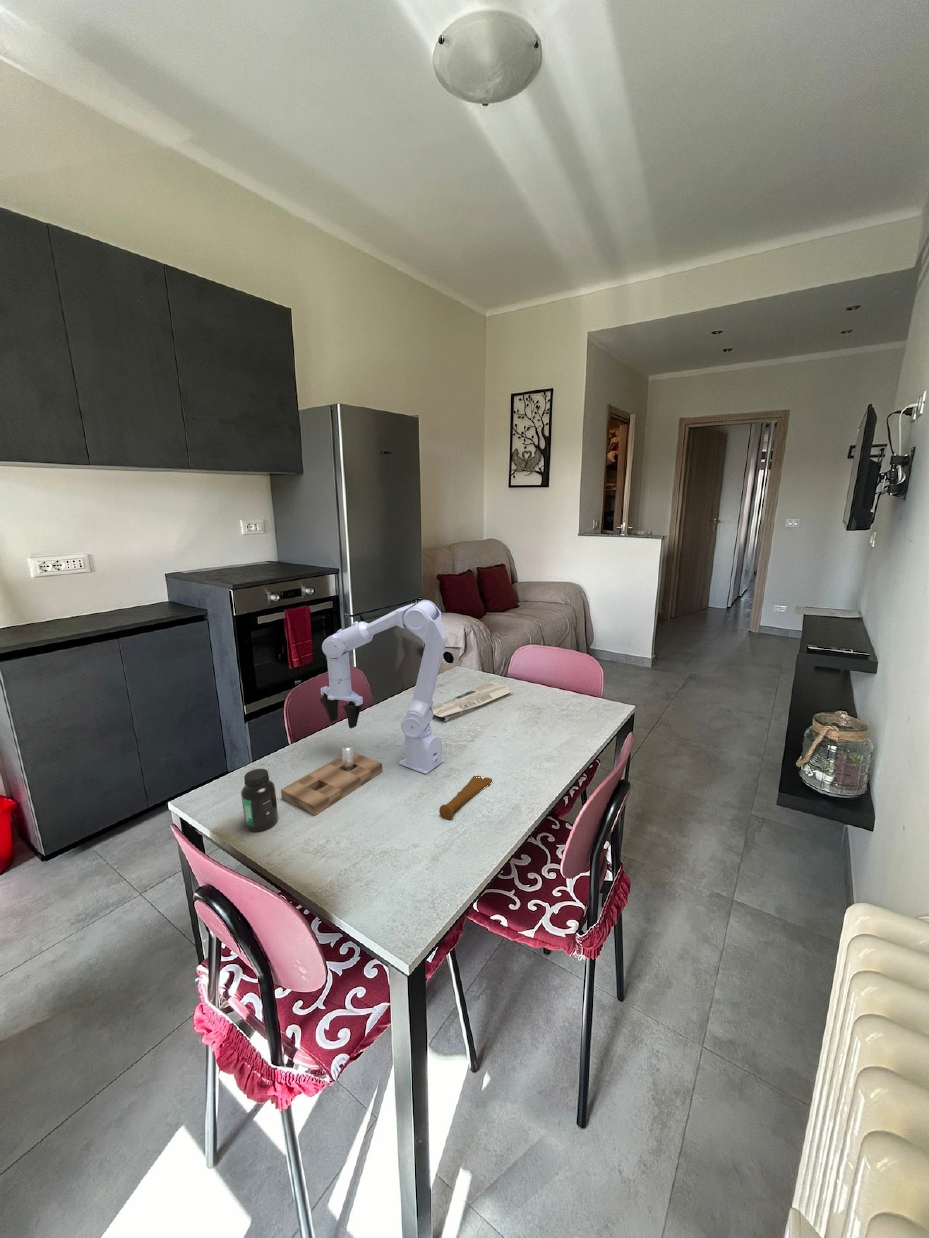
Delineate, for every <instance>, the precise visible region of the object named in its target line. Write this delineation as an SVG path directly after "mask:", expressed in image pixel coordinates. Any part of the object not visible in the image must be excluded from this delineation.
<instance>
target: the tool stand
mask: <svg viewBox="0 0 929 1238" xmlns="http://www.w3.org/2000/svg"><path fill="white" fill-rule="evenodd" d="M353 762H354V769H353V770H351V771H349V772H347V771H345V770H344V767H343V755H342V754H341V755H340V756H338V757H337V758H334V759H333V760H331V761H329V762H327V763H326V764H324V765H322V766H320V767H318V768H317V769H315V770H314V771H311V772H309V773H308V774H306V775H304V776H302V777H301V778H299V779H298V780H295V781H294V782H292V783H290V784H289V785H286V786H285V787H283V788H281V789H280V793H281V794H280V796H281V799H282V800H283V801H285V802H286V803H287V802H288V803H290V804H291V805H293V806H295V807H297V808H299V809H301V810H303V811H304V812H307V813H308V814H310V815H312V816H314V817H315V816H318V814H320V813H322V812H323V811H324V810H327V809H329V808H330V807H331V806H333V805H334V804H336V803H337V802H339V801H340V800H342V799H343V798H346V797H347V796H348V795H350V794H351V793H353V792H354V791H356V790H357V789H358V788H360V787H361V786H364V785H365V784H366V783H368V782H370V781H371V780H372V779H374V778H376V777H377V776H378V775H380V774H382V773H383V772H384V771H383V763H382V762H381V761H378V760H377V761H376V760H375V759H373V758H369V757H367V756H364V755H362V754H359V753H356V752H355V751H353Z"/></svg>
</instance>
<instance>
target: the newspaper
mask: <svg viewBox="0 0 929 1238" xmlns="http://www.w3.org/2000/svg"><path fill="white" fill-rule="evenodd" d="M510 693H513V690H511V688H510V687H509V686H507V685H502V684H501V683H497V682H487V683H485V684H483V685H481V686H478V687H475V688H474V689H472V690H470V691H467V692H465V693H462V694H460V695H458V696H455V697H453V698H451V699H448V700H445V701H444V702H441V703H439V704H436V705H435V706H432V709H433V717H439V718H444V720H443V722H448V721H449V720H452V719H453V718H456V717H458V716H460V715H462V714H464V713H466V712H469V711H472V710H473V709H475V708H478V707H480V706H482V705H484V704H486V703H489V702H491V701H493V700H495V699H498V698H500V697H503V696H504V695H505V696H506V695H508V694H510Z"/></svg>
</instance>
